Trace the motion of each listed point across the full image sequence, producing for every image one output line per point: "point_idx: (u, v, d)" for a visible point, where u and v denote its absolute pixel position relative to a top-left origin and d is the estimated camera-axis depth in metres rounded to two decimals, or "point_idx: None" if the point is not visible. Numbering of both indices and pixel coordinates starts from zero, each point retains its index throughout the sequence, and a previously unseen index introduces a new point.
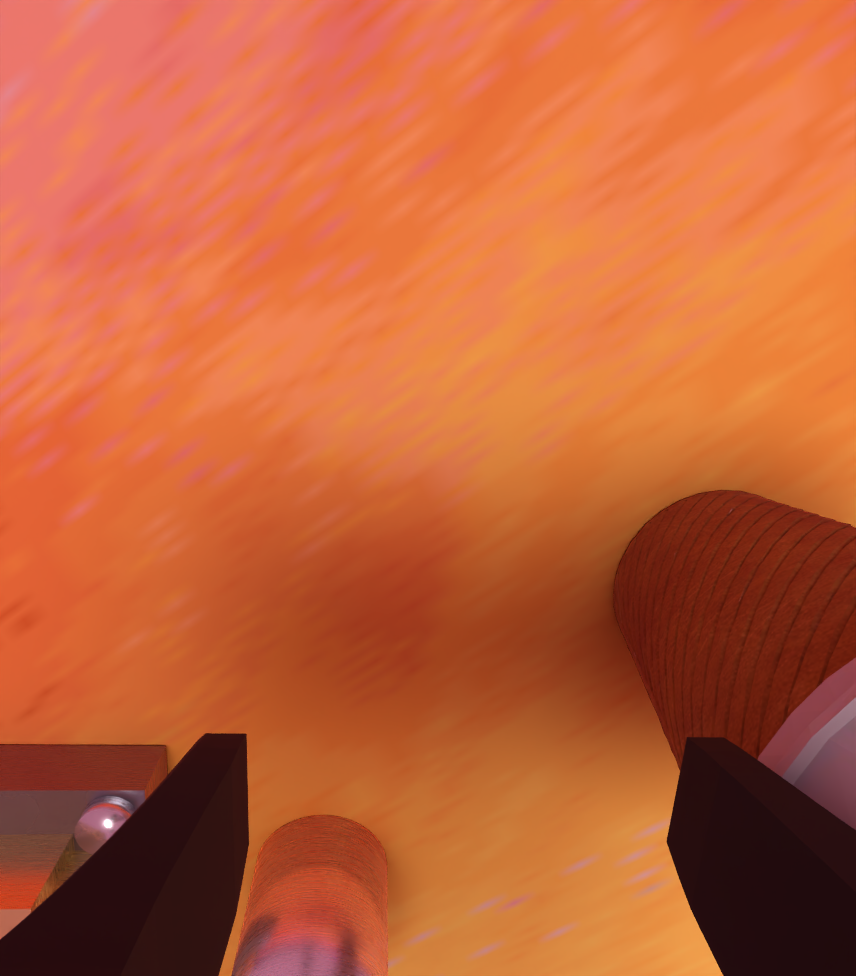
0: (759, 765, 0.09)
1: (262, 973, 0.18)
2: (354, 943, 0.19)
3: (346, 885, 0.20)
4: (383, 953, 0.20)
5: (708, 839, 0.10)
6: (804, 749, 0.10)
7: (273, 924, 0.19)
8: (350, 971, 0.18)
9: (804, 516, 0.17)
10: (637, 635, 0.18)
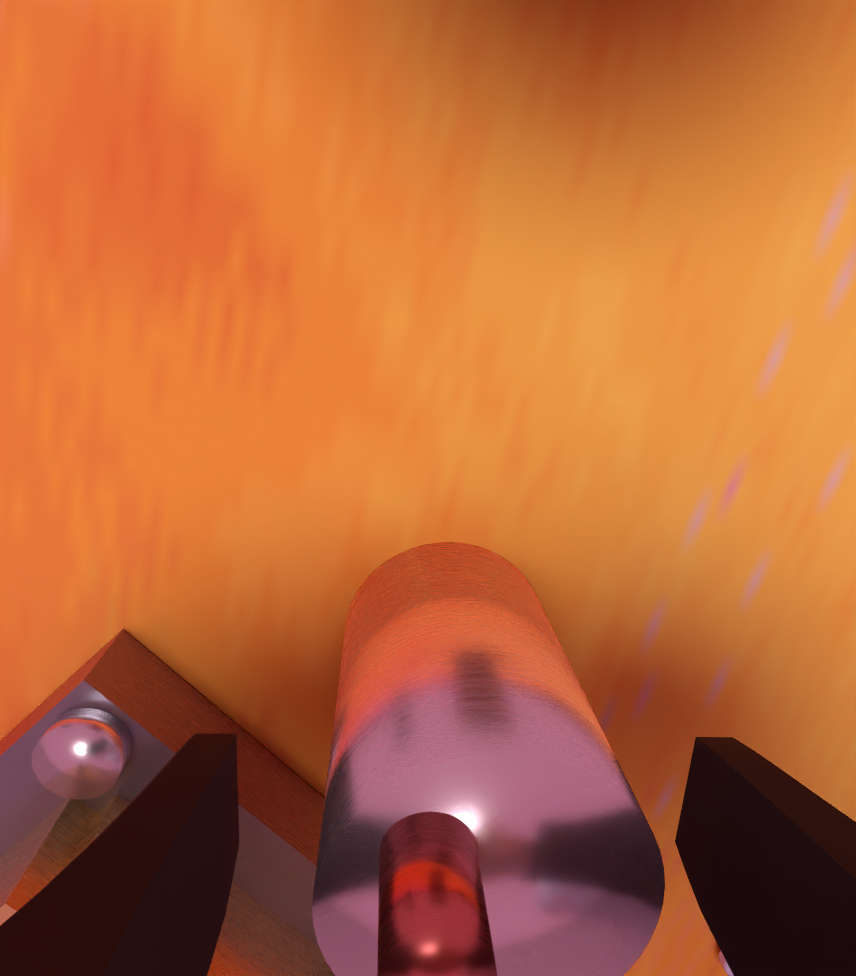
0: (769, 765, 0.09)
1: (331, 770, 0.10)
2: (449, 645, 0.10)
3: (421, 600, 0.12)
4: (526, 638, 0.11)
5: (718, 839, 0.10)
6: None
7: (338, 709, 0.11)
8: (449, 675, 0.10)
9: None
10: None
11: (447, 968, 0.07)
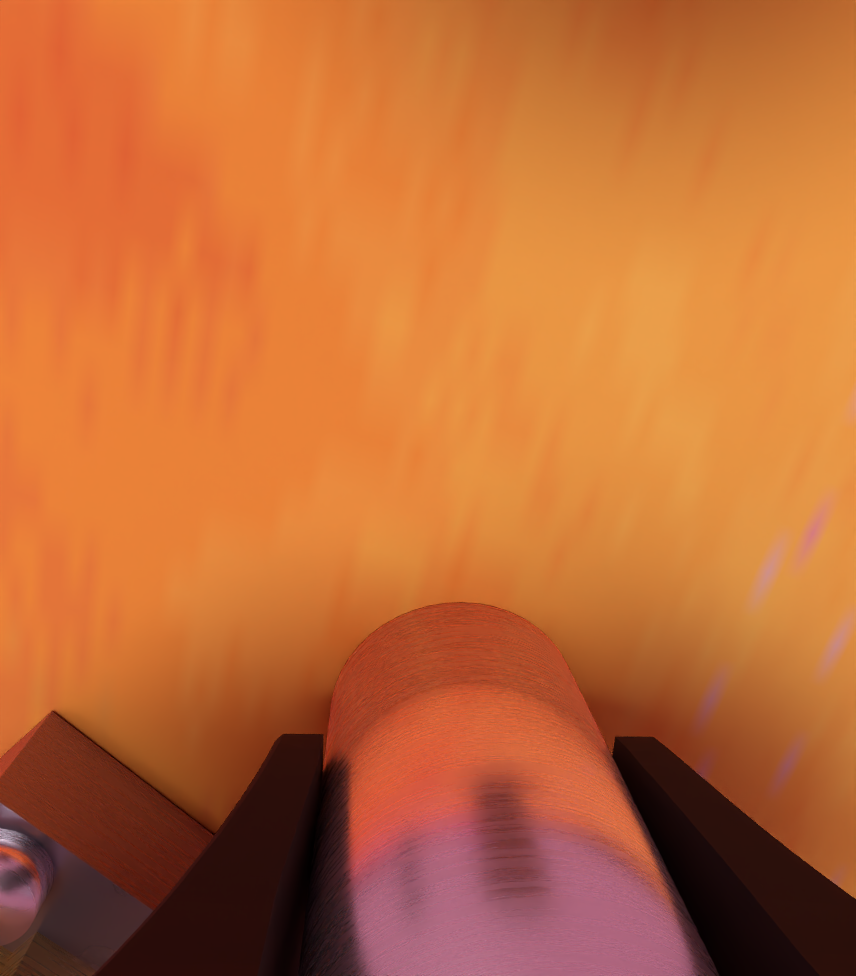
0: (681, 764, 0.09)
1: (301, 970, 0.07)
2: (470, 781, 0.07)
3: (427, 696, 0.09)
4: (572, 760, 0.08)
5: None
6: None
7: (317, 855, 0.08)
8: (471, 842, 0.07)
9: None
10: None
11: None
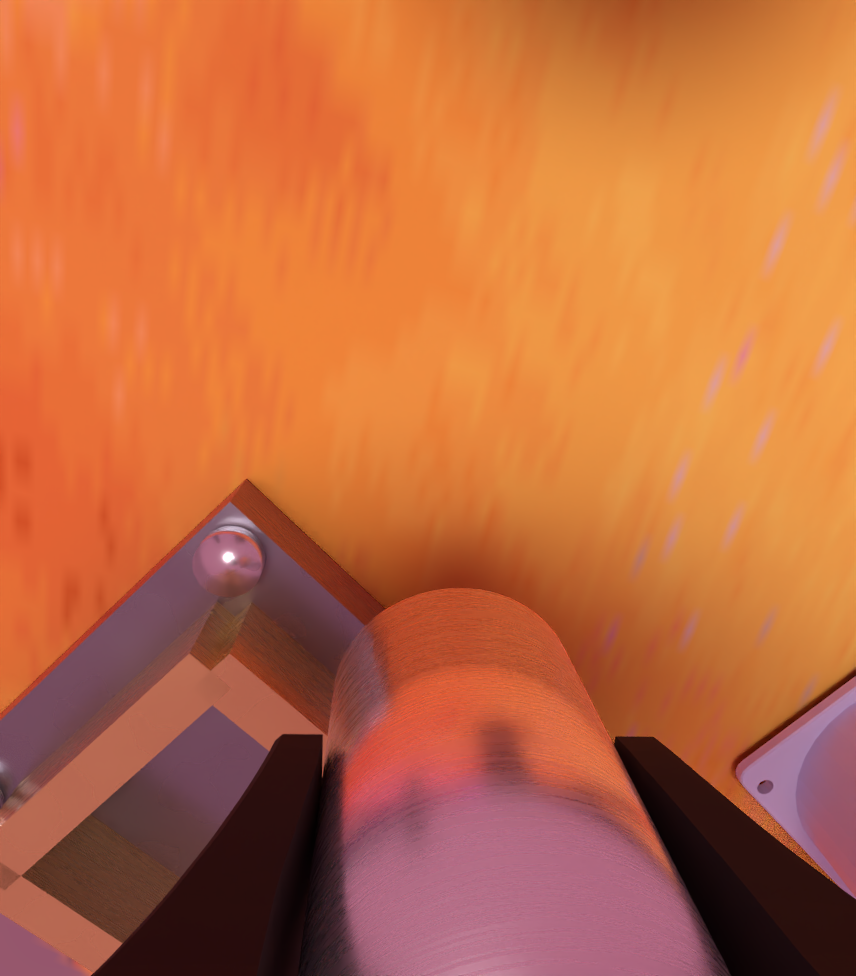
0: (681, 764, 0.09)
1: (307, 926, 0.07)
2: (474, 749, 0.08)
3: (432, 672, 0.09)
4: (572, 734, 0.08)
5: None
6: None
7: (321, 822, 0.09)
8: (476, 804, 0.07)
9: None
10: None
11: None
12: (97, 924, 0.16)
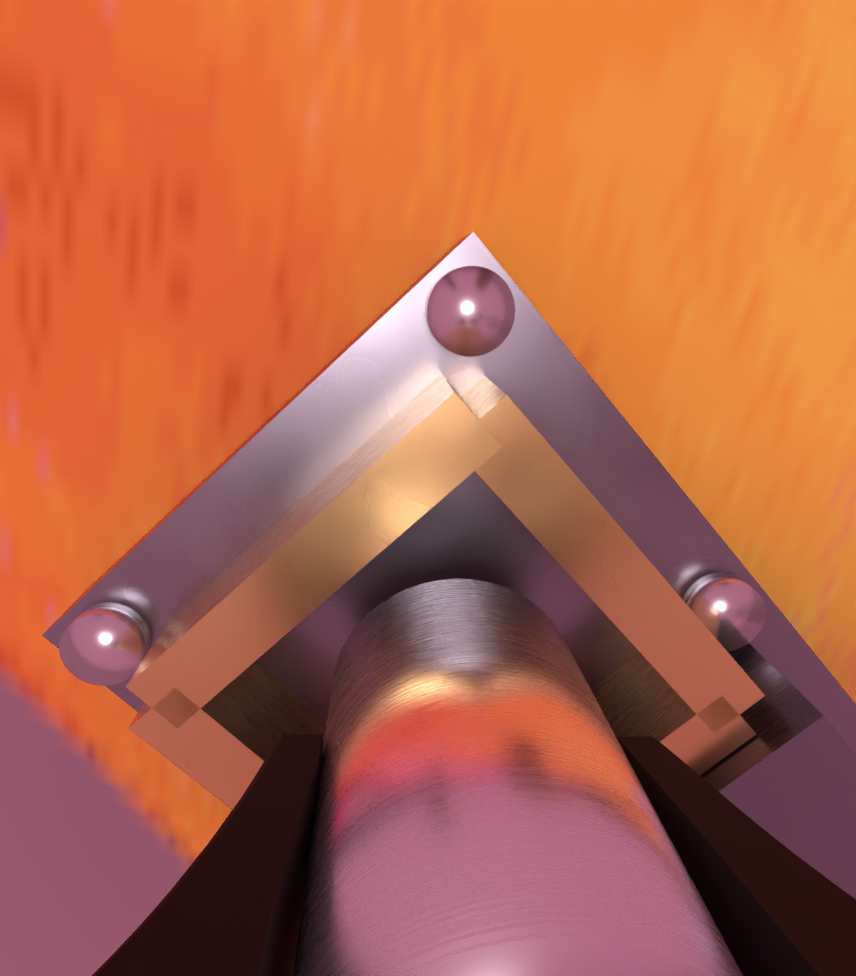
0: (680, 764, 0.09)
1: (310, 899, 0.07)
2: (485, 730, 0.08)
3: (440, 657, 0.09)
4: (581, 723, 0.08)
5: None
6: None
7: (324, 799, 0.08)
8: (489, 782, 0.07)
9: None
10: None
11: None
12: None
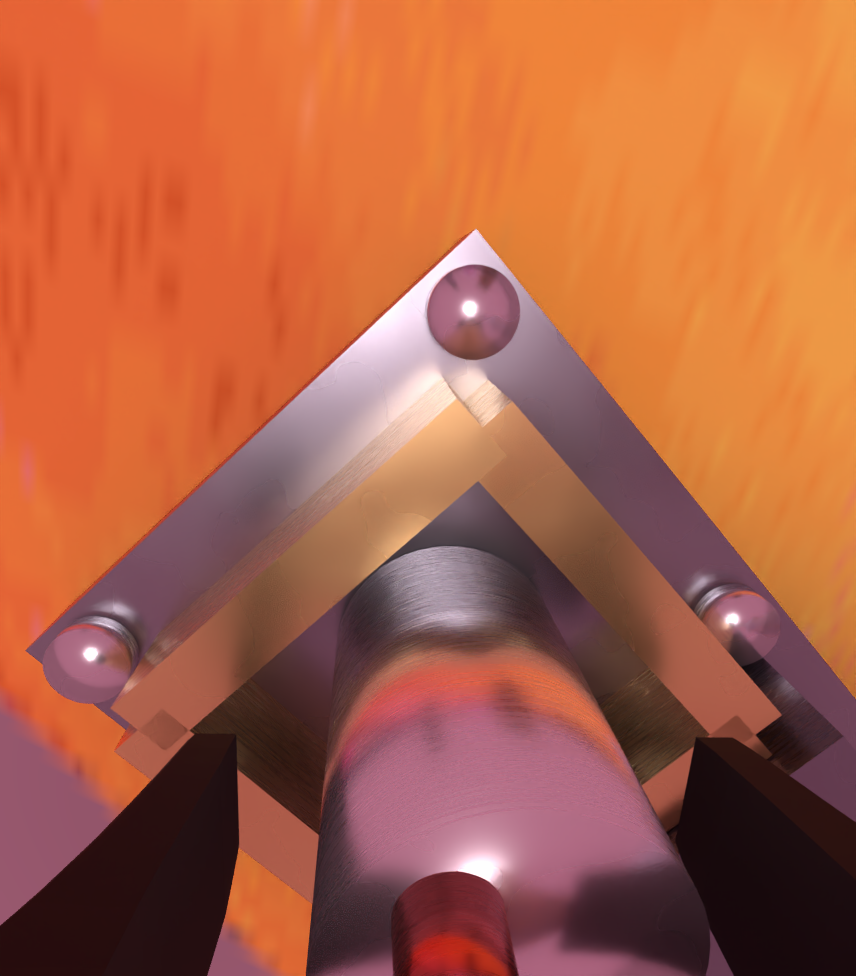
0: (768, 766, 0.09)
1: (329, 802, 0.09)
2: (472, 668, 0.09)
3: (434, 611, 0.11)
4: (553, 664, 0.10)
5: (718, 839, 0.10)
6: None
7: (336, 729, 0.10)
8: (475, 705, 0.08)
9: None
10: None
11: None
12: (283, 804, 0.12)
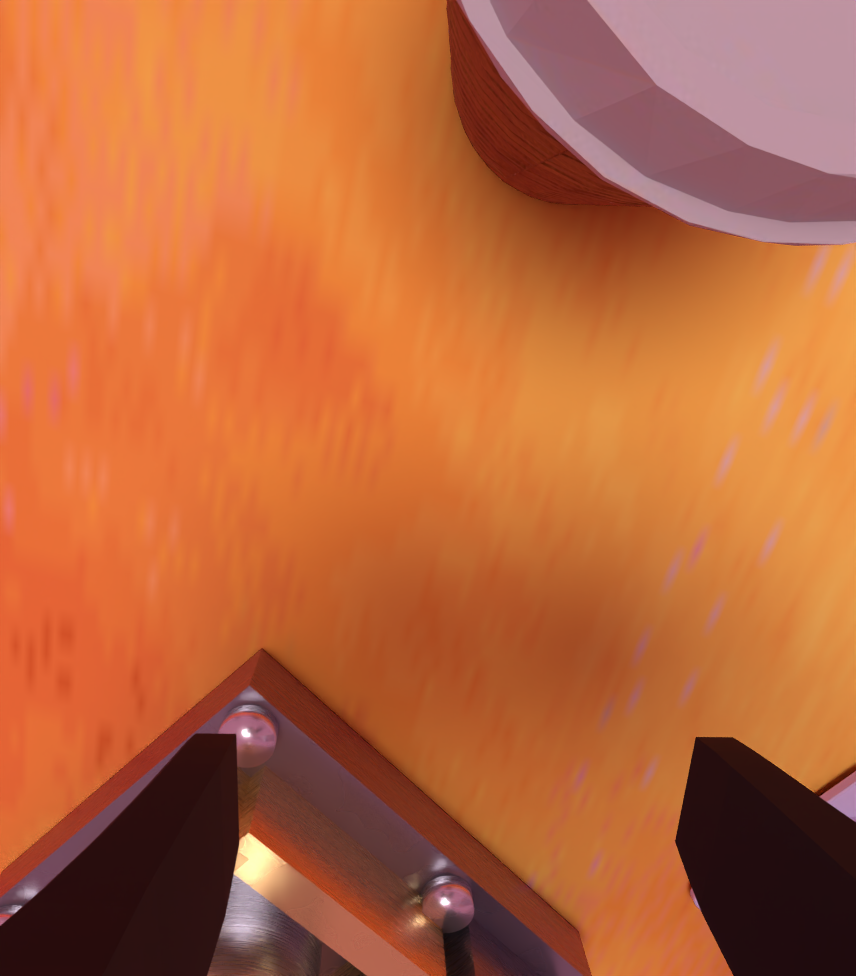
0: (769, 765, 0.09)
1: None
2: None
3: None
4: None
5: (718, 839, 0.10)
6: None
7: None
8: None
9: None
10: (493, 149, 0.14)
11: None
12: None
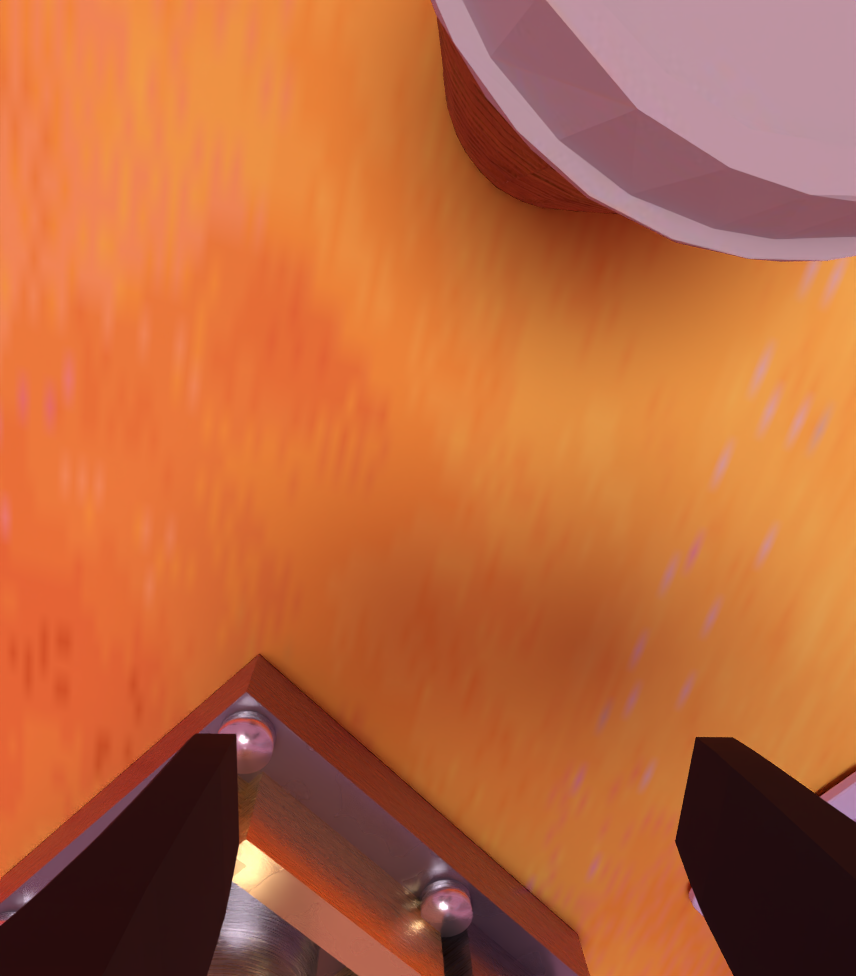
0: (768, 765, 0.10)
1: None
2: None
3: None
4: None
5: (718, 839, 0.10)
6: None
7: None
8: None
9: None
10: (484, 157, 0.14)
11: None
12: None
